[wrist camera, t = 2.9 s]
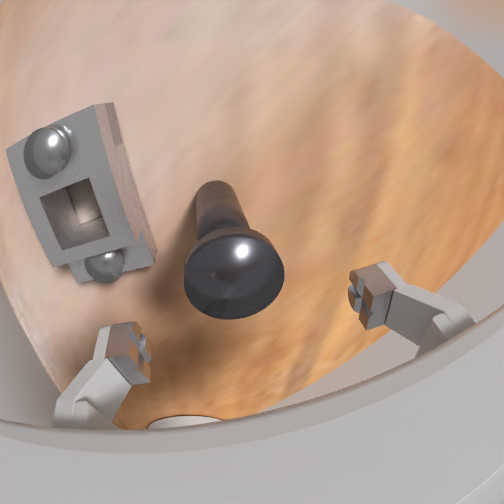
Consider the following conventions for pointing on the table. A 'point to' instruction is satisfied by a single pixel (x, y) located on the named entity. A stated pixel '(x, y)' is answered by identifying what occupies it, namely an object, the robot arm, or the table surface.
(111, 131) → the slotted ball-knob block
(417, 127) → the table surface
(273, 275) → the pin
